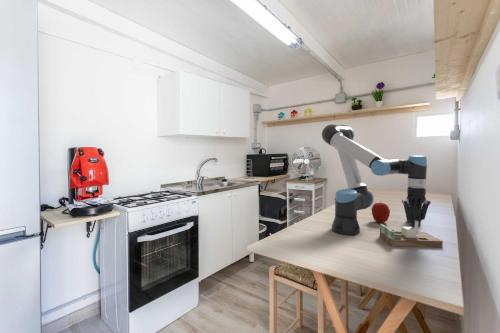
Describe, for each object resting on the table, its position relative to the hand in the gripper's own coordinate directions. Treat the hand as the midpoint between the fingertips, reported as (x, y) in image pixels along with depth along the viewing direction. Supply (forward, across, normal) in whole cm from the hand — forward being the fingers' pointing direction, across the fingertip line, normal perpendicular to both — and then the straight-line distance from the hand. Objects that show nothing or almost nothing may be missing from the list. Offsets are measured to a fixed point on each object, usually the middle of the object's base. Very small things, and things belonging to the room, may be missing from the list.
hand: (414, 233), depth 122 cm
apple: (+5, -2, +32) cm, 33 cm away
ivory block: (+1, -3, 0) cm, 3 cm away
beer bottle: (+5, +19, +33) cm, 39 cm away
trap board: (+4, -3, 0) cm, 5 cm away
